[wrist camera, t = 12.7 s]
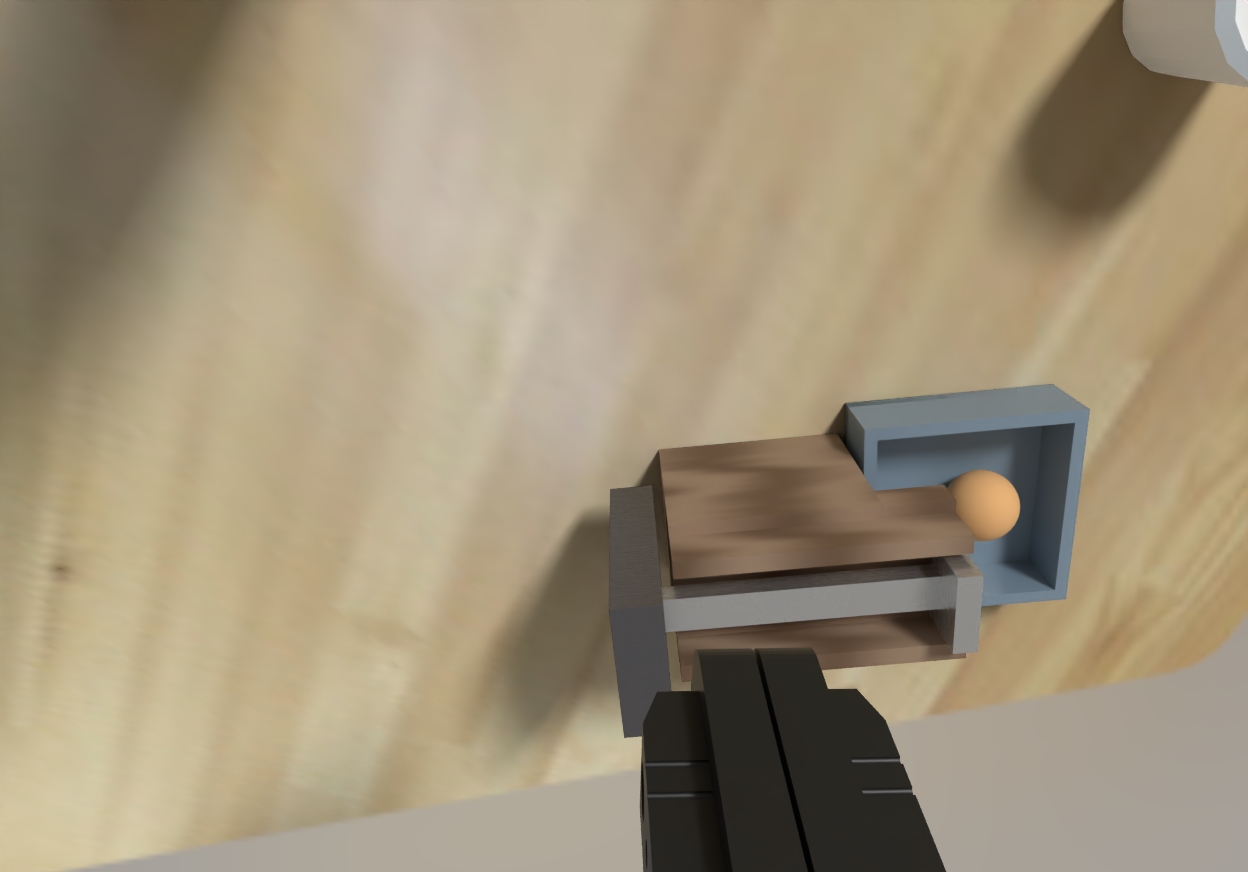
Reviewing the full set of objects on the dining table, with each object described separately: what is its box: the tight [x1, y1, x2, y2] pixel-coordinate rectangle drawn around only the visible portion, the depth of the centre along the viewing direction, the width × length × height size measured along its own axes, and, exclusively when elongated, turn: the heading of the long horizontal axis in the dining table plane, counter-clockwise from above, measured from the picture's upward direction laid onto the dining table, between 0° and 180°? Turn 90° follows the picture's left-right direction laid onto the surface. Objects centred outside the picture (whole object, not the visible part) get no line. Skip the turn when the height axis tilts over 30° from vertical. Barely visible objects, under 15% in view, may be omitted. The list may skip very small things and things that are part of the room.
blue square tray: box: [845, 384, 1090, 606], centre depth 42 cm, size 10×10×4 cm
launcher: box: [659, 434, 975, 682], centre depth 39 cm, size 12×7×10 cm, turn 95°
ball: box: [947, 470, 1020, 541], centre depth 41 cm, size 4×4×4 cm
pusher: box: [609, 485, 984, 738], centre depth 37 cm, size 14×6×10 cm, turn 95°
